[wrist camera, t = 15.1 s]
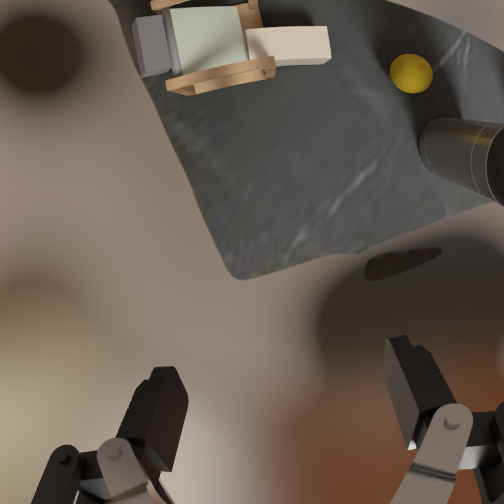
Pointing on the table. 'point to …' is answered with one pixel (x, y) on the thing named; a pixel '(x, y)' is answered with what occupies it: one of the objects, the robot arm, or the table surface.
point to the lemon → (411, 73)
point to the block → (289, 44)
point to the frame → (225, 73)
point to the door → (188, 40)
